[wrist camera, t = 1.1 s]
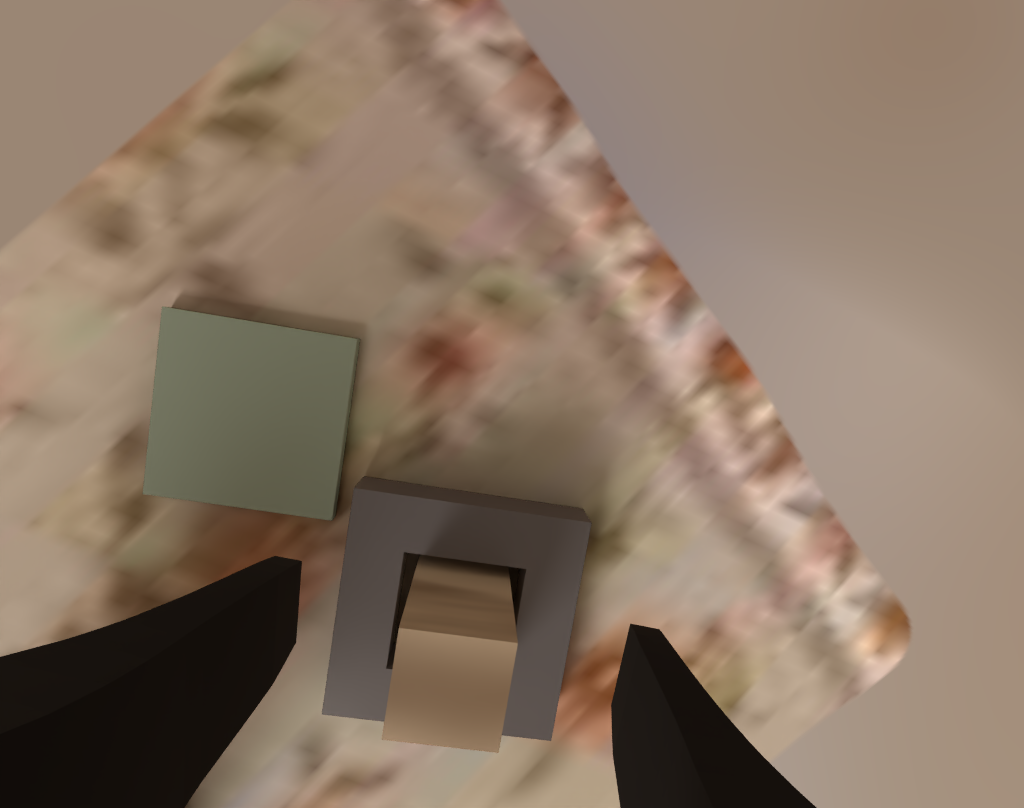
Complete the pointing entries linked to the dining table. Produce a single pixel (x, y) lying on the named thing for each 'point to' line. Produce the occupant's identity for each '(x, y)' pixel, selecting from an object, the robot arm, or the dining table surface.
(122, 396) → the dining table surface
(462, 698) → the beech block
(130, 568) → the dining table surface
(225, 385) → the green mat
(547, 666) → the pocket plate
